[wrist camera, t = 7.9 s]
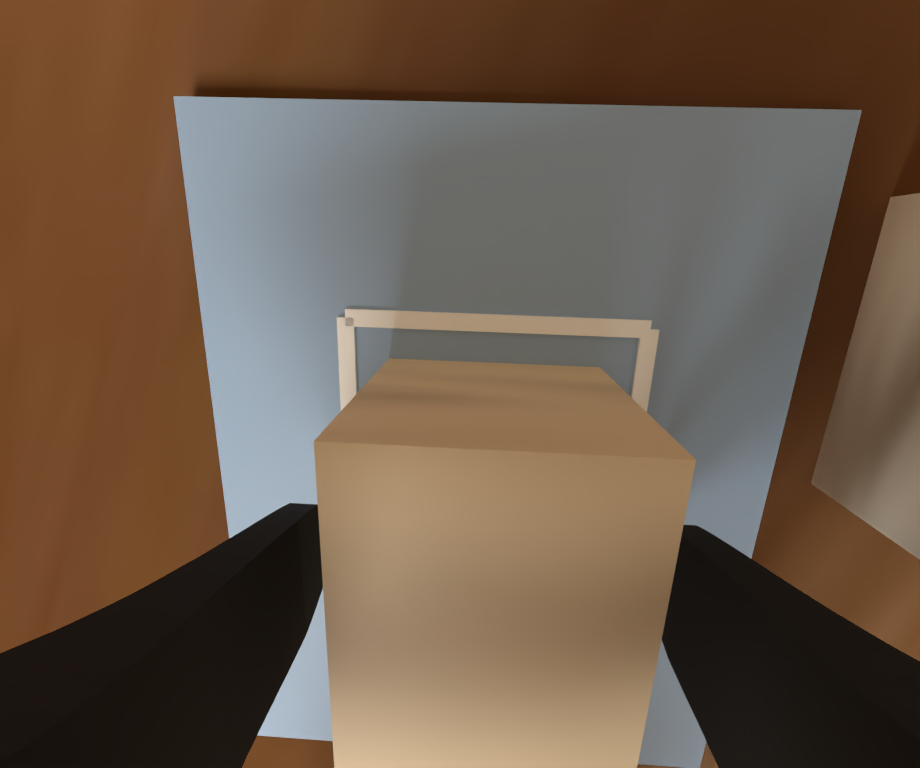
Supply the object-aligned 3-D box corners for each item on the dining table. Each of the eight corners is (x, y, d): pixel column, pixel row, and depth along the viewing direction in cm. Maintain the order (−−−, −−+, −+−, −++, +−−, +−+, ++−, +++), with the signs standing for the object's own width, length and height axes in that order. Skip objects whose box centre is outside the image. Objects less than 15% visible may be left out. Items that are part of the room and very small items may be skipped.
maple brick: (570, 611, 13) (624, 832, 8) (392, 600, 13) (337, 809, 8) (599, 367, 11) (696, 460, 6) (388, 358, 11) (313, 441, 6)
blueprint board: (691, 748, 14) (700, 772, 14) (262, 716, 15) (252, 738, 14) (838, 118, 10) (866, 108, 9) (191, 105, 10) (170, 94, 9)
